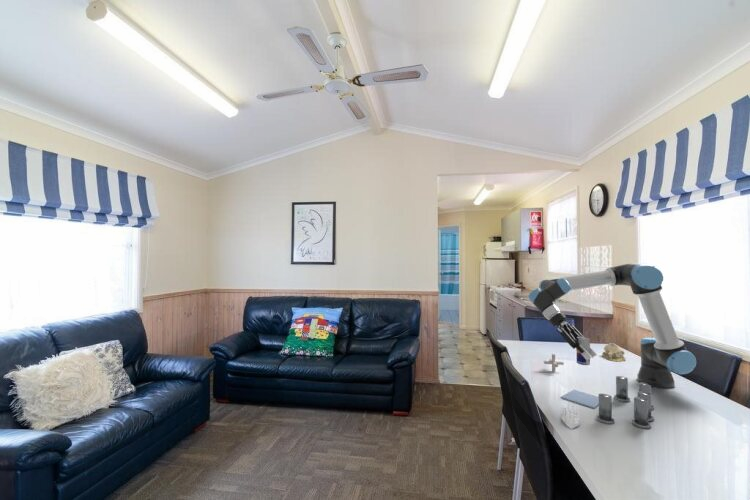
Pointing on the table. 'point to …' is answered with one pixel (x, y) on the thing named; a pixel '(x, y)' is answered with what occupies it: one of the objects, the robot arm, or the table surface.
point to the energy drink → (586, 344)
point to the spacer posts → (640, 402)
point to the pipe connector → (553, 363)
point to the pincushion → (570, 420)
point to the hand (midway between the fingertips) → (592, 357)
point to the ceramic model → (613, 352)
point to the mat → (582, 398)
